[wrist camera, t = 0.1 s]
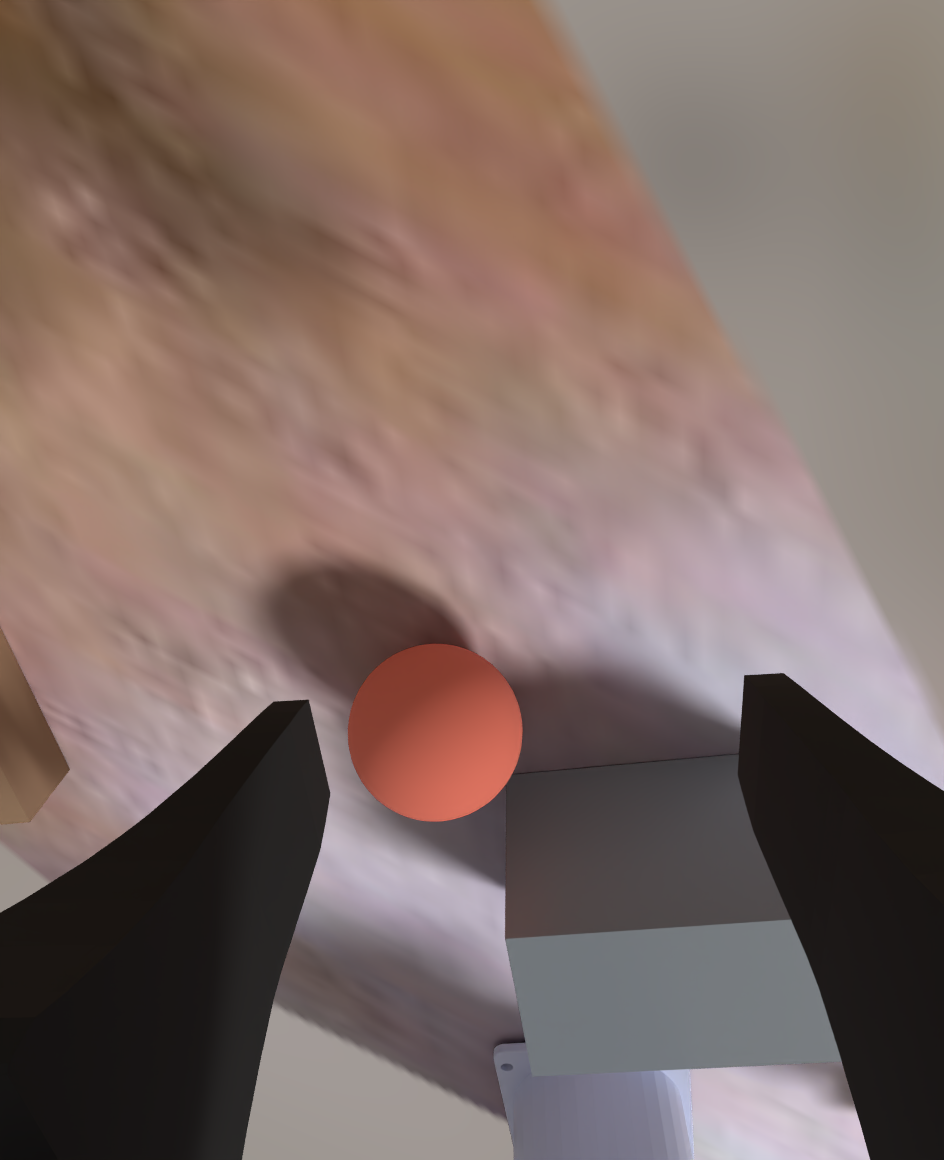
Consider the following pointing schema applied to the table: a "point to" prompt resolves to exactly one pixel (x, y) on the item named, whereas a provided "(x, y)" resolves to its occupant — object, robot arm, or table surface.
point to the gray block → (651, 925)
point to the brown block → (24, 746)
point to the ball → (435, 732)
